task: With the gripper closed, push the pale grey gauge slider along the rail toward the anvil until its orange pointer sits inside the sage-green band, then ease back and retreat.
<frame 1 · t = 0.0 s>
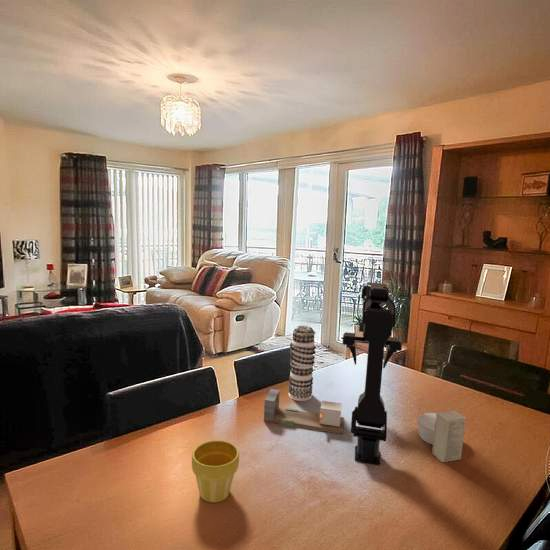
hand: (369, 365, 128), 15 cm above the table, fingers open, 9 cm apart
skincare box: (446, 457, 104), on the table
gauge slider: (330, 415, 115), point 4 cm above the table, slide at 0.0 cm
plant pot: (214, 492, 86), on the table
ramekin: (435, 439, 113), on the table
decorative candle: (299, 395, 136), on the table
gauge board: (304, 420, 119), on the table
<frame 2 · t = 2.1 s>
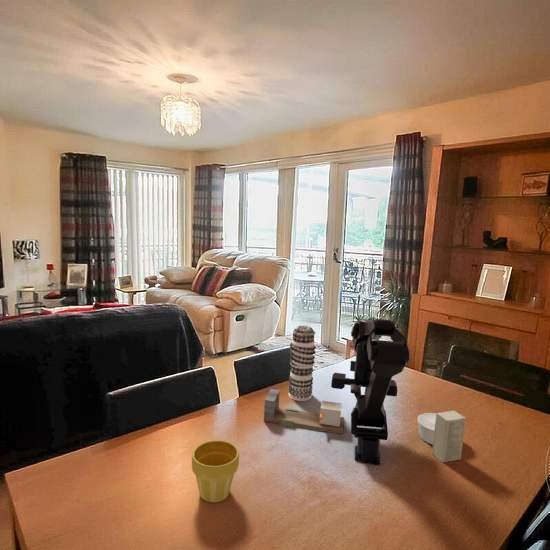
hand: (361, 411, 114), 6 cm above the table, fingers closed
nothing on the table moved.
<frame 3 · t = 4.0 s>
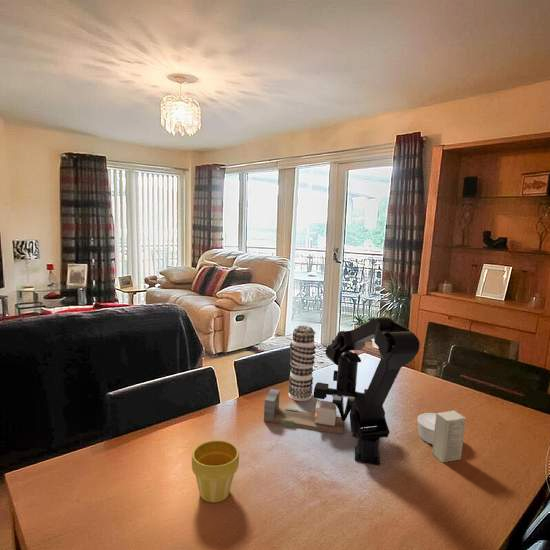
hand: (343, 420, 116), 2 cm above the table, fingers closed
gauge slider: (325, 414, 116), point 4 cm above the table, slide at 1.5 cm, touching gripper
everything else where it was.
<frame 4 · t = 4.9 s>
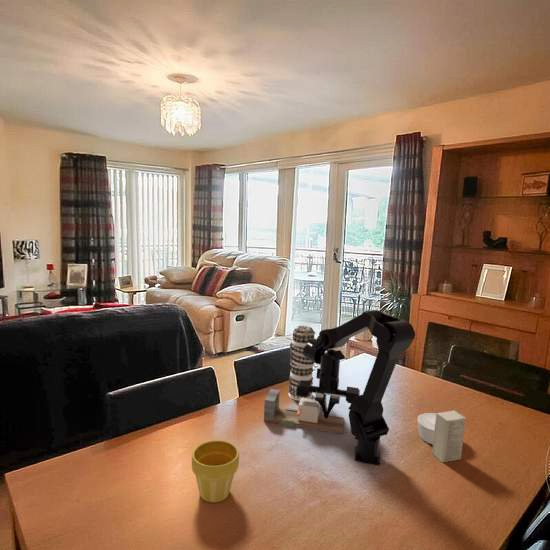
hand: (326, 417, 117), 2 cm above the table, fingers closed
gauge slider: (308, 412, 117), point 4 cm above the table, slide at 6.7 cm, touching gripper
everything else where it was.
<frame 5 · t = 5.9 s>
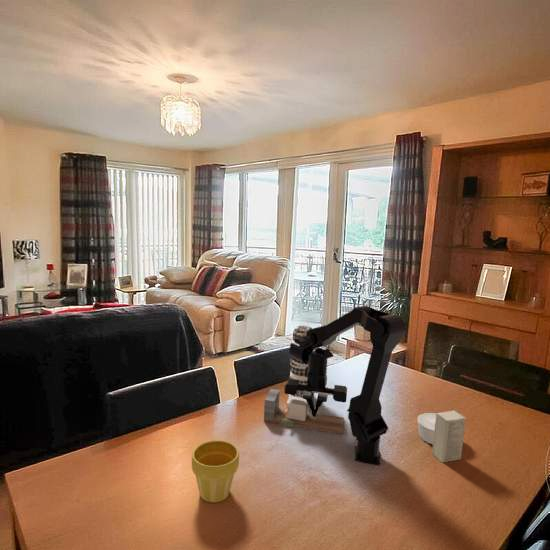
hand: (314, 416, 118), 2 cm above the table, fingers closed
gauge slider: (296, 410, 117), point 4 cm above the table, slide at 10.5 cm, touching gripper
everything else where it was.
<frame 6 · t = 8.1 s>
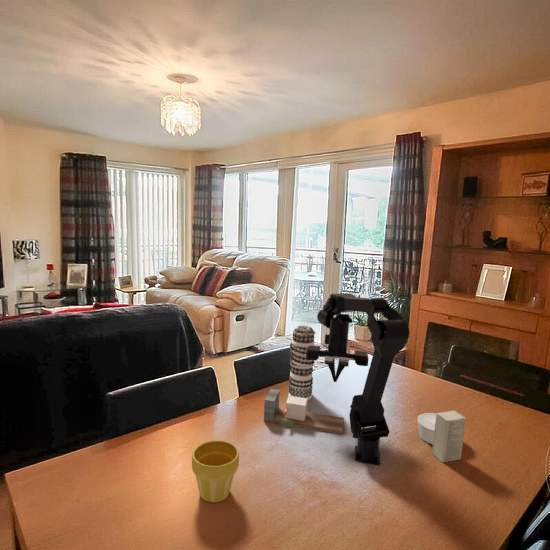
hand: (335, 381, 120), 12 cm above the table, fingers closed
gauge slider: (295, 410, 117), point 4 cm above the table, slide at 10.6 cm
everything else where it was.
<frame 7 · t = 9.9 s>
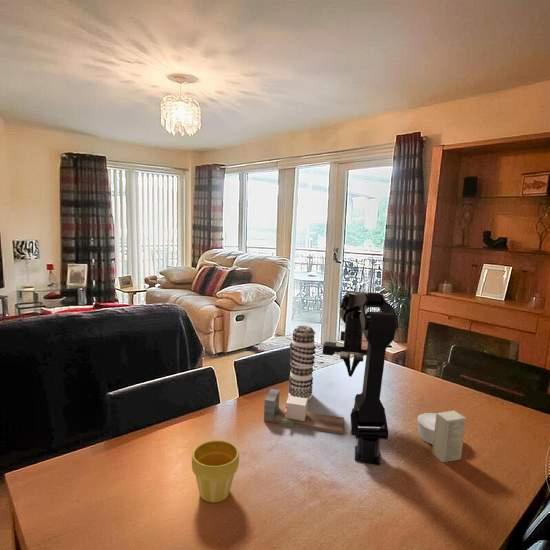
hand: (350, 376, 125), 12 cm above the table, fingers closed
nothing on the table moved.
at the end: gauge slider slide at 10.6 cm; gauge slider touching nothing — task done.
